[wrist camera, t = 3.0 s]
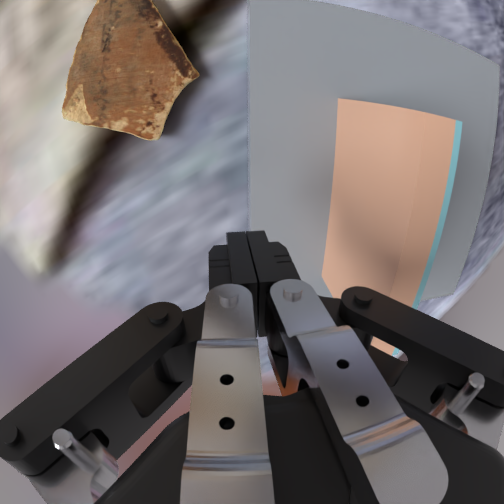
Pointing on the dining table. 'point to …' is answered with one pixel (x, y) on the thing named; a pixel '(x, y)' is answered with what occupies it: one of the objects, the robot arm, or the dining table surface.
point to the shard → (126, 70)
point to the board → (325, 120)
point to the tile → (388, 199)
